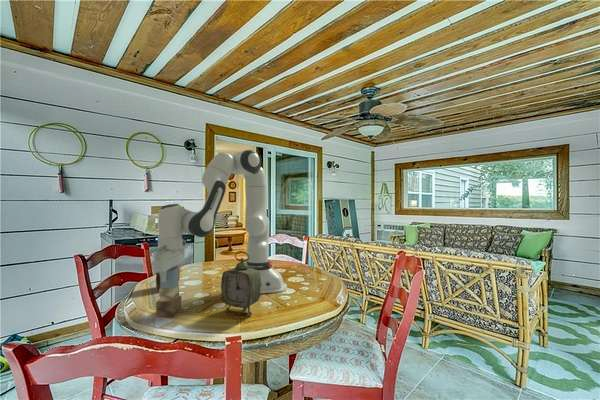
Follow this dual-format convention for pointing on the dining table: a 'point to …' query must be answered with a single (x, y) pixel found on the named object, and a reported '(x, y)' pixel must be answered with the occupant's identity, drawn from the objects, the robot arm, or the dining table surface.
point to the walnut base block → (168, 308)
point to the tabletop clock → (241, 286)
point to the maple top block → (169, 294)
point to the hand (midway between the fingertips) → (169, 278)
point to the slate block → (170, 279)
